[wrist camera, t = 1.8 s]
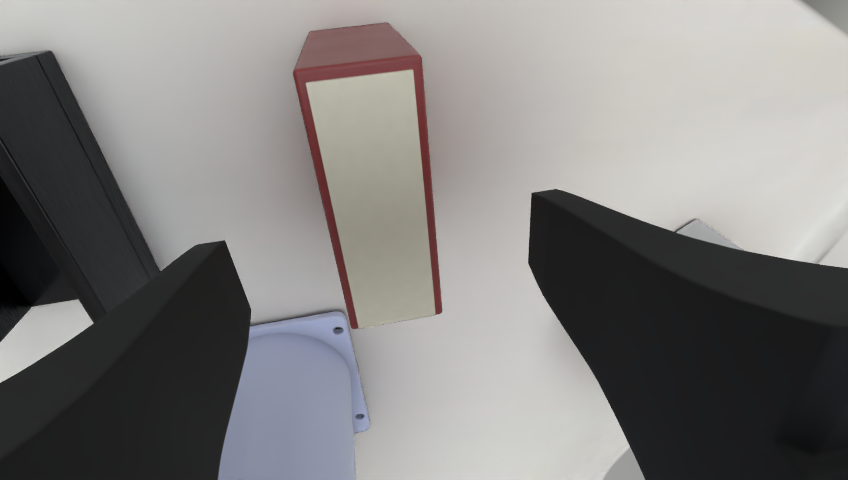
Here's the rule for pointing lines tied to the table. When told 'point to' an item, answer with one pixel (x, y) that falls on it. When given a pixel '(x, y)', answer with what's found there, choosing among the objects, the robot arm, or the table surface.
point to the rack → (59, 202)
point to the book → (373, 169)
